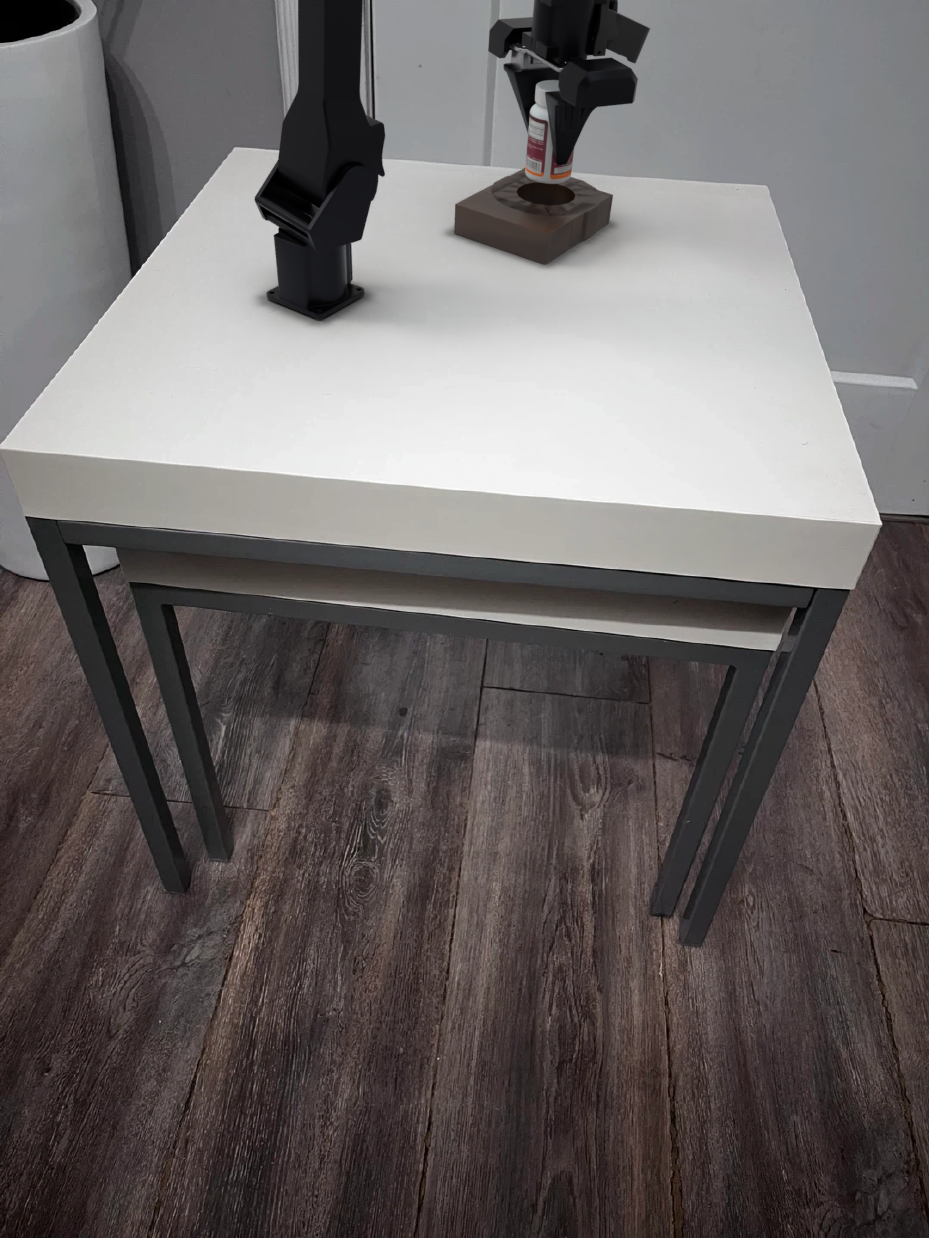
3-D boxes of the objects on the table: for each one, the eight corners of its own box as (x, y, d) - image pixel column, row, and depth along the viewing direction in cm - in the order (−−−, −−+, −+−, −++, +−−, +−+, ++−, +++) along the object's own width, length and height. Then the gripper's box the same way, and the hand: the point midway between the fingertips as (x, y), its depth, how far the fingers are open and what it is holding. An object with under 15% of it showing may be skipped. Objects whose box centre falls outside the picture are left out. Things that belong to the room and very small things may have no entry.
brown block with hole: (546, 265, 95) (550, 235, 93) (452, 233, 99) (453, 203, 97) (616, 220, 103) (620, 191, 101) (526, 192, 108) (528, 164, 105)
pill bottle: (571, 169, 100) (581, 80, 94) (570, 187, 97) (581, 95, 91) (525, 165, 100) (533, 76, 95) (523, 183, 97) (531, 91, 91)
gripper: (703, -7, 83) (667, 180, 94) (593, -53, 95) (572, 118, 106) (591, 0, 79) (568, 194, 90) (491, -49, 91) (481, 128, 102)
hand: (549, 155), depth 97 cm, fingers closed on pill bottle, 5 cm apart
